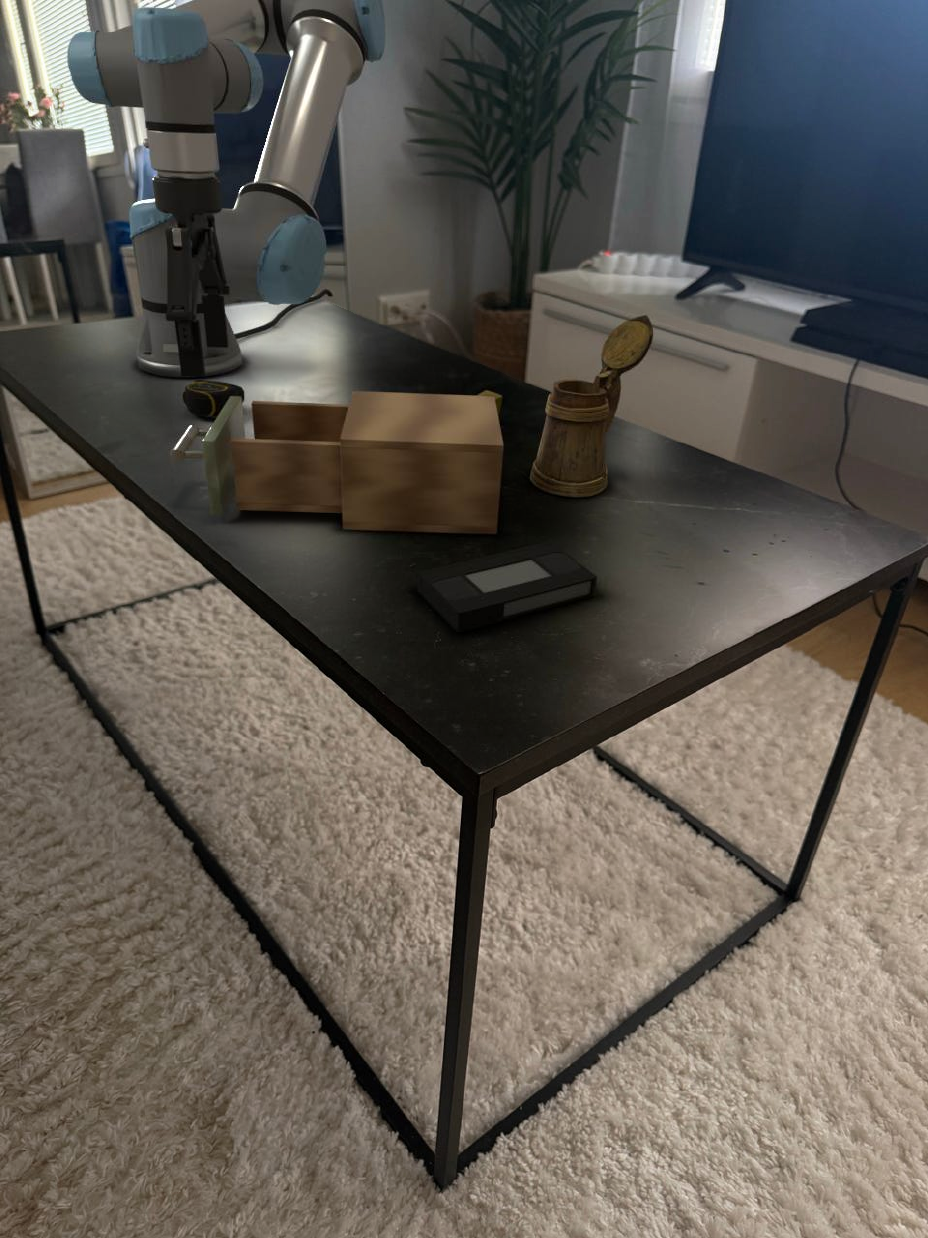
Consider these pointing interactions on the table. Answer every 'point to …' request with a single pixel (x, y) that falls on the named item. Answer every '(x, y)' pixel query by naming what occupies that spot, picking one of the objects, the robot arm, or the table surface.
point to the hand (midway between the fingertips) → (206, 360)
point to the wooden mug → (587, 417)
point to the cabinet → (421, 463)
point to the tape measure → (209, 397)
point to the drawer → (272, 457)
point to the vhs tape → (505, 585)
